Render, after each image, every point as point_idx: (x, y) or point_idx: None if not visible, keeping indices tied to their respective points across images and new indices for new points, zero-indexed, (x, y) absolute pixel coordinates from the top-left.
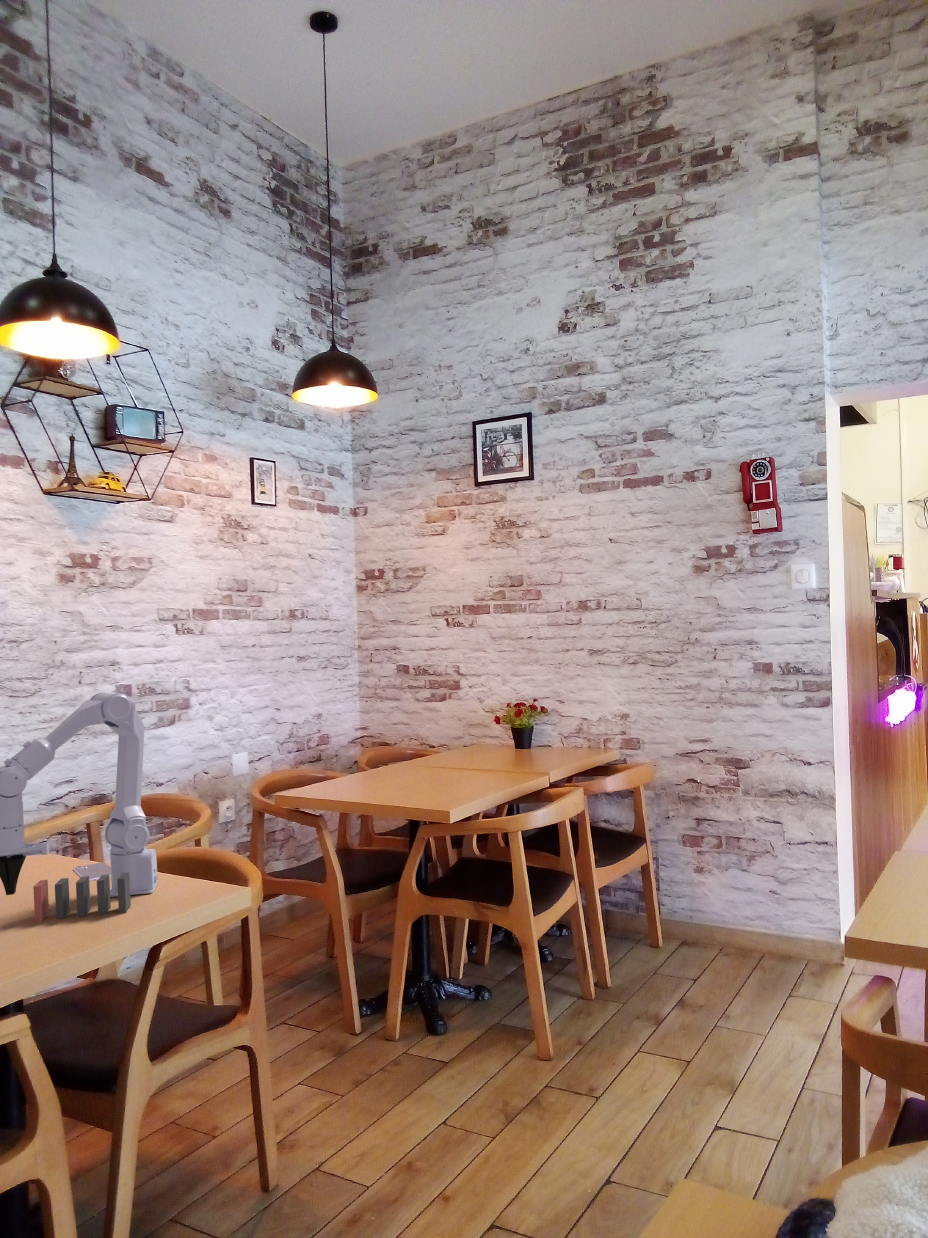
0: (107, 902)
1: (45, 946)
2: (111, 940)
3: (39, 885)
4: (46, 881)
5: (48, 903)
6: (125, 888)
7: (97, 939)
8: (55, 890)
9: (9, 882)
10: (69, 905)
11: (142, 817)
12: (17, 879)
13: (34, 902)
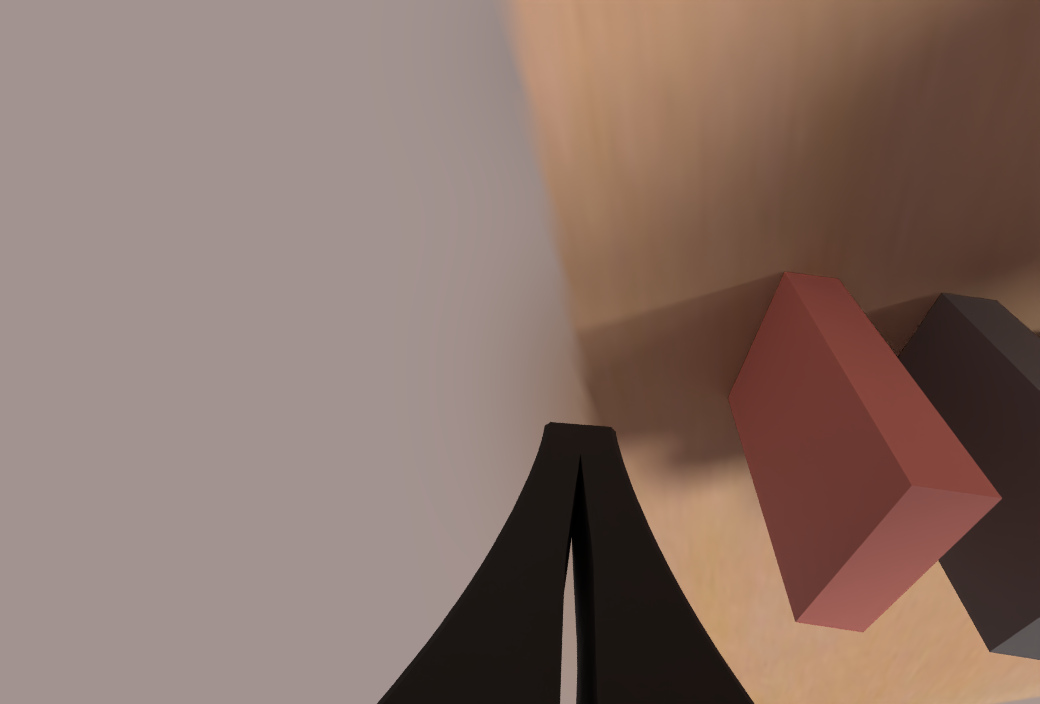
0: None
1: (754, 656)
2: (987, 696)
3: (854, 624)
4: (968, 521)
5: (871, 329)
6: None
7: (946, 675)
8: (964, 600)
9: (577, 621)
10: (1027, 335)
11: None
12: (643, 526)
13: (761, 497)
